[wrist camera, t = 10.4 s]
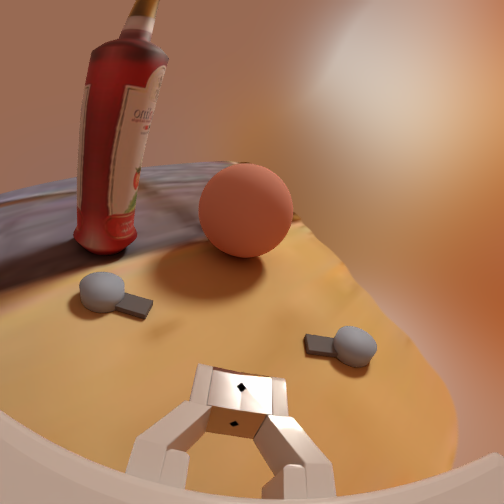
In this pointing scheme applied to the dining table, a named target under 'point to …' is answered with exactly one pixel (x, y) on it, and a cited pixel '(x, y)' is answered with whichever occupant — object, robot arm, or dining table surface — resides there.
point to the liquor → (116, 131)
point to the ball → (245, 210)
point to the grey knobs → (113, 298)
